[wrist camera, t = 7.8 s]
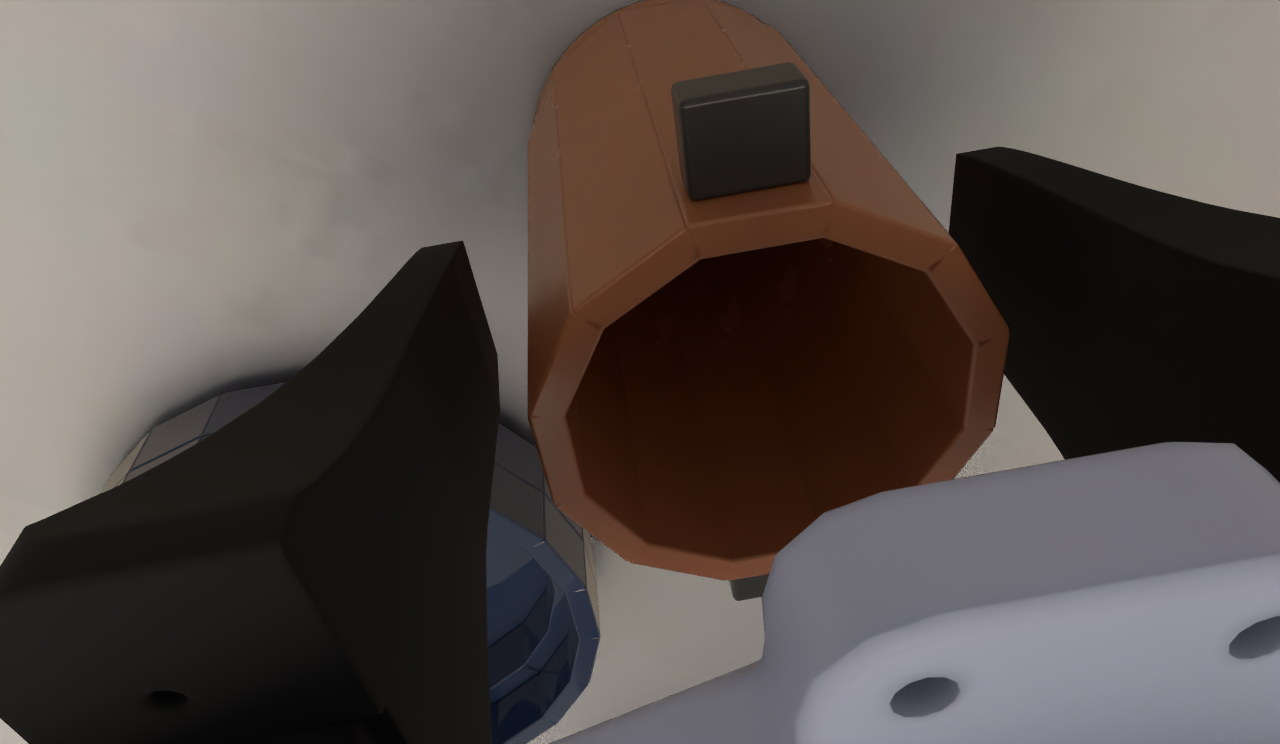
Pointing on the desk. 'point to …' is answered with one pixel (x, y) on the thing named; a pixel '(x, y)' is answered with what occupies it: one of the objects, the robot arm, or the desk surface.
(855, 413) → the copper pot
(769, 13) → the desk surface
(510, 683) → the pan
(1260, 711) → the robot arm
